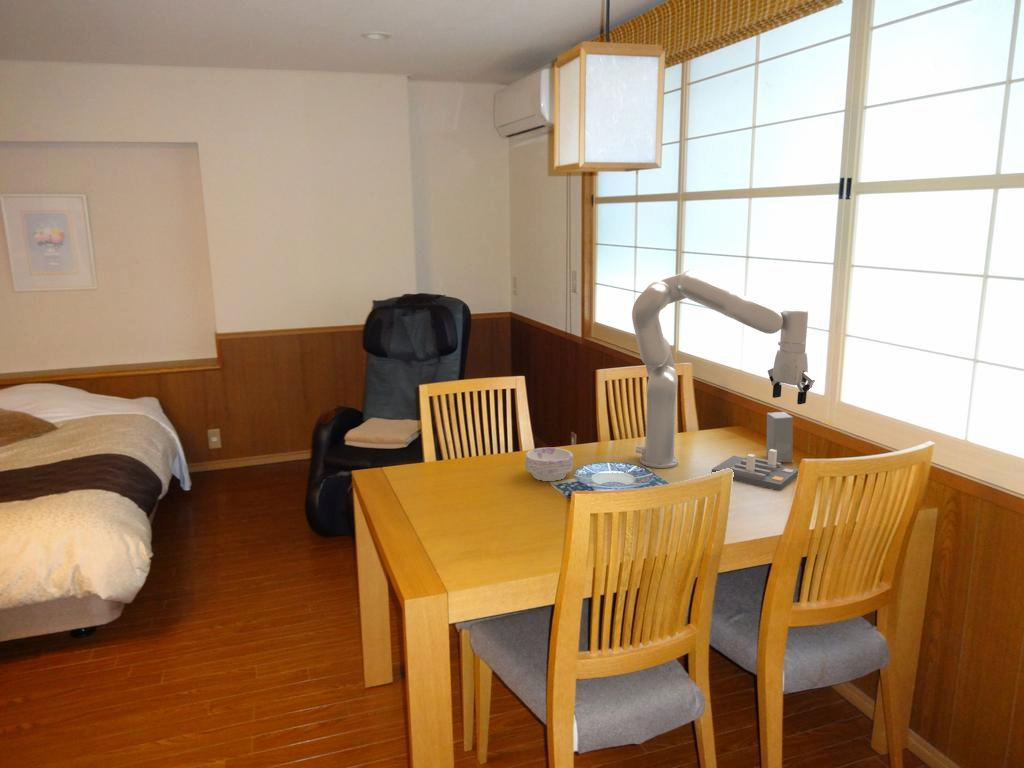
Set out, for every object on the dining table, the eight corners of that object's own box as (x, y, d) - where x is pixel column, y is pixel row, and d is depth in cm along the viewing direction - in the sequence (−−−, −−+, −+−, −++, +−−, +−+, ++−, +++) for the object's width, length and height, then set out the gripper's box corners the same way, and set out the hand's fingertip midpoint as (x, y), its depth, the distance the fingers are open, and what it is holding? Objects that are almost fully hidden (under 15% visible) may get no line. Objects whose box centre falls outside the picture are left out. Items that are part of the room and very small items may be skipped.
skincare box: (792, 463, 248) (796, 417, 244) (771, 463, 248) (774, 417, 244) (784, 454, 256) (787, 410, 252) (763, 455, 256) (766, 410, 252)
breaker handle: (767, 467, 237) (768, 450, 236) (769, 465, 239) (770, 448, 238) (773, 468, 236) (774, 451, 235) (775, 466, 238) (777, 450, 236)
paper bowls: (552, 465, 247) (552, 443, 245) (582, 478, 235) (583, 454, 233) (515, 475, 238) (515, 452, 237) (545, 489, 226) (545, 464, 225)
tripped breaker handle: (745, 472, 233) (746, 455, 231) (748, 470, 234) (749, 453, 233) (751, 473, 232) (753, 456, 230) (754, 471, 233) (755, 455, 232)
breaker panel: (711, 475, 237) (711, 465, 236) (733, 461, 250) (733, 452, 249) (779, 490, 224) (780, 480, 223) (798, 475, 236) (799, 465, 236)
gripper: (762, 344, 236) (759, 396, 240) (807, 352, 221) (803, 408, 225) (778, 342, 240) (775, 393, 244) (824, 350, 225) (819, 404, 229)
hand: (788, 400), depth 235 cm, fingers open, 9 cm apart
